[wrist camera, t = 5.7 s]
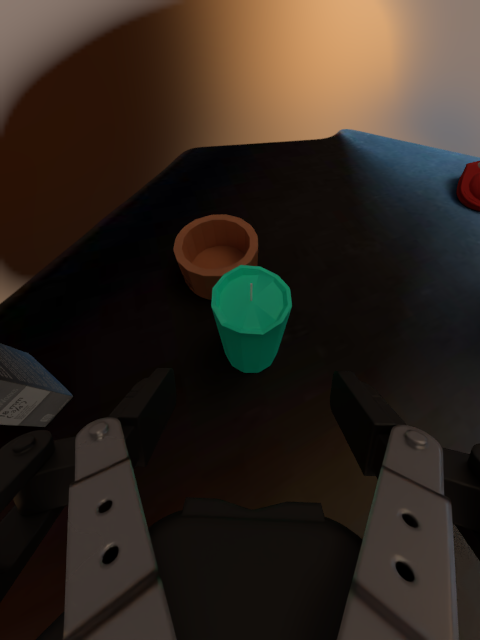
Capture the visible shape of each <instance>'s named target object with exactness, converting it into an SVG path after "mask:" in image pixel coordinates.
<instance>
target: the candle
mask: <svg viewBox="0 0 480 640" xmlns="http://www.w3.org/2000/svg"><path fill="white" fill-rule="evenodd" d="M211 307H212V311H213V314H214V318H215V321H216V324H217V328H218V331H219V334H220V338H221V341H222V345H223V348H224V351H225V354H226V356H227V358H228V360H229V362H230V363H231V365H232V366H233V367H235V368H237V369H238V370H240V371H242V372H244V373H259V372H260V371H262V370H264V369H266V368H267V367H269V366H271V364H272V362H273V360H274V358H275V356H276V354H277V352H278V348H279V345H280V342H281V339H282V336H283V333H284V330H285V326H286V323H287V320H288V317H289V314H290V311H291V308H292V302H291V293H290V288H289V287H288V286H287V285H286V284H285V282H284V281H283V280H282V279H281V278H280V277H279V276H278V275H276V274H274V273H272V272H270V271H268V270H266V269H264V268H262V267H259V266H248V265H240V266H238V267H236V268H234V269H232V270H231V271H229V272H227V273H225V274H223V276H222V277H221V278H220V279H219V281H218V282H217V283H216V284H215V286H214V287H213V288H212V302H211Z"/></svg>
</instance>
